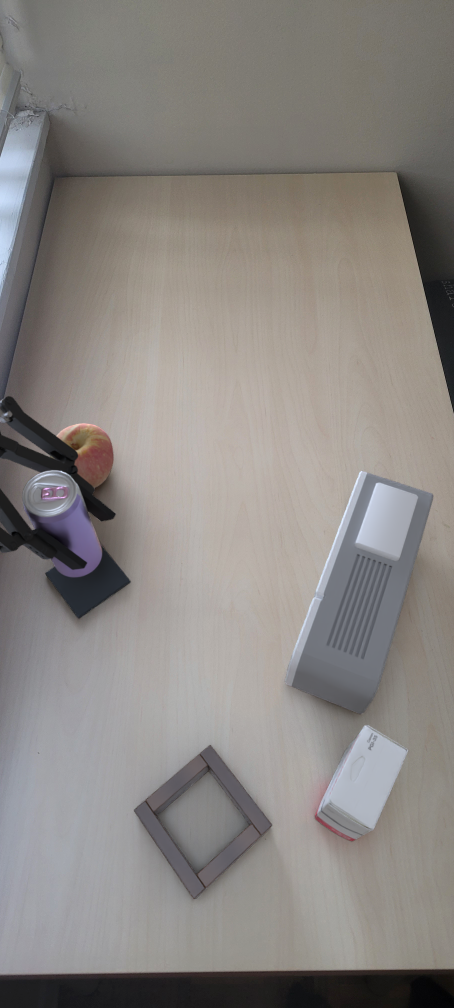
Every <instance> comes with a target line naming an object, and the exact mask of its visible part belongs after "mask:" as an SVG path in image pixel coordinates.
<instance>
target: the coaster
mask: <svg viewBox="0 0 454 1008" xmlns="http://www.w3.org/2000/svg"><path fill="white" fill-rule="evenodd" d="M100 545H101V548H102V557H101V561H100V563H99V564H98V566H97V567H96V568H95V569H94V570H93V571H92V572H90V573H89V574H87V575H85V576H81V577H68V576H65V575H63V574H61V573H60V572H59V571H58V570H57V569H56V568H55V566H53V567H52V568H50V569H48V570H47V571H46V572H44V574H45V575H46V577H47V578H48V580H49V581H50V582H51V584H52V585H53V586H54V588H55V589H56V590H57V592H58V594H60V596H61V597H62V599H63V600H64V601H65V603H66V604H67V605H68V607H69V608H70V609H71V611H72V613H74V615H75V617H77V619H78V620H80V619H81V618H83V617H84V616H85V615H86V614H89V613H90V612H91V611H92V610H94V609H95V608H97V607H98V606H100V605H101V604H102V603H104V602H105V601H106V600H108V599H110V598H111V597H112V596H113V595H115V594H116V593H118V592H119V591H121V590H122V589H123V588H125V587H126V586H128V585H129V584H130V583H131V580H130V578H129V577H128V576H127V575H126V573H125V572H124V571H123V570H122V568H121V567H120V566H119V565H118V564H117V562H116V561H115V560H114V559H113V557H112V556H111V555H110V554H109V553H108V551H107V550H106V549H105V547H104V546H103V545H102V544H101V543H100Z"/></svg>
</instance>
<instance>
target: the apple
mask: <svg viewBox="0 0 454 1008" xmlns="http://www.w3.org/2000/svg"><path fill="white" fill-rule="evenodd" d="M56 436H57V437H58V438H59V439H61V440H62V441H63V442H65V443H66V444H67V445H69V446H70V447H72V448H73V449H74V450H76V451H77V453H78V458H77V459H76V460H75V464H74V465H75V466H77V468H78V472H77V474H79V475H80V476H81V477H82V478H84V479H85V480H86V481H87V482H89V483H90V484H91V485H92V486H93V487H94V489H95V488H97V487H100V485H102V484H103V483H104V482H105V481H106V480H107V478H109V476H110V474H111V471H112V469H113V466H114V461H115V457H114V456H115V455H114V449H113V448H114V447H113V442H112V440H111V438H110V436H109V434H108V433H107V432H106V431H105V430H104V429H103V428H101V427H100V426H98V425H96V424H91V423H82V422H81V423H76V424H72V425H68V426H67V427H65V428H63V429H61V431H59V432H58V433H57V435H56ZM49 457H51V456H50V455H49ZM51 458H53V457H51ZM53 459H54V458H53Z"/></svg>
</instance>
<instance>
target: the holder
mask: <svg viewBox="0 0 454 1008" xmlns="http://www.w3.org/2000/svg"><path fill="white" fill-rule="evenodd" d="M208 772H210V774H211V776H213V778H214V779H215V781H216V782H217V783H218V784H219V785H220V787H221V789H223V791H224V792H225V793H226V795H227V796H228V798H229V799H230V800H231V802H232V803H233V804H234V806H235V807H236V809H237V810H238V811H239V812H240V814H241V815H242V816H243V818H244V819H245V820H246V822H247V823H248V824H249V825H248V826H247V827H246V828H244V830H243V831H241V833H239V834H238V835H237V836H236V837H235V838H234V839H233V840H232V841H231V842H229V844H227V845H226V846H225V847H224V848H223V849H222V850H221V851H219V853H218V854H217V855H216V856H215V857H213V858H212V859H211V860H210V861H209V862H208V863H207V864H205V866H204V867H203V868H202V869H201V870H199V872H198V873H197V872H196V870H195V869H194V868H193V866H192V864H191V863H190V861H189V860H188V859H187V858H186V856H185V854H184V853H183V852H182V850H181V849H180V847H179V845H178V844H177V843H176V841H175V840H174V839H173V837H172V835H171V834H170V833H169V831H168V829H166V827H165V826H164V824H163V822H162V821H161V820H160V818H159V817H158V816H159V814H161V813H162V812H163V811H164V810H165V809H166V808H168V807H169V806H170V805H171V804H172V803H173V802H174V801H176V800H177V799H178V798H179V797H180V796H181V795H183V794H184V793H185V792H186V791H187V790H188V789H189V788H191V787H192V786H193V785H194V784H195V783H196V782H198V781H199V780H200V779H201V778H202V777H203V776H205V774H207V773H208ZM133 812H134V814H135V815H136V816H137V818H138V819H139V821H140V823H141V825H143V827H144V828H145V830H146V831H147V832H148V834H149V836H150V837H151V838H152V840H153V841H154V843H155V844H156V846H157V847H158V849H159V850H160V852H161V854H162V855H163V856H164V858H165V860H166V861H167V862H168V864H169V865H170V867H171V868H172V869H173V871H174V873H175V875H176V876H177V878H178V879H179V880H180V882H181V883H182V884H183V886H184V888H185V889H186V891H187V892H188V893H189V895H190V896H191V898H192V899H193V900H197V899H198V897H200V896H201V895H202V894H203V893H204V892H205V891H206V890H207V889H208V888H209V887H210V886H212V884H214V883H215V882H216V881H217V880H218V879H219V878H220V877H221V876H223V874H225V872H226V871H227V870H229V869H230V867H232V866H233V865H234V864H235V863H236V862H237V861H238V860H239V859H240V858H241V857H242V856H243V855H244V854H245V853H247V851H248V850H250V849H251V848H252V847H253V846H254V845H255V844H256V843H257V842H258V841H259V840H260V839H261V838H262V837H263V836H264V835H266V833H268V832H269V831H270V830H271V828H272V827H273V824H272V823H271V821H270V820H269V819H268V818H267V816H266V815H265V813H264V812H263V811H262V809H261V808H260V807H259V806H258V804H257V802H255V800H254V799H253V797H251V795H250V794H249V793H248V791H247V790H246V789H245V787H244V786H243V784H242V783H241V782H240V781H239V780H238V779H237V777H236V775H235V774H234V773H233V772H232V771H231V769H230V768H229V767H228V765H227V764H226V763H225V762H224V760H223V759H222V758H221V756H220V755H219V754H218V752H217V751H216V750H215V748H214V747H213V746H212V745H211V744H209V745H208V746H207V747H205V748H204V749H203V750H202V751H201V752H200V753H198V754H197V755H196V756H195V757H194V758H193V759H191V760H190V761H189V762H187V764H185V765H184V766H183V767H182V768H181V769H180V770H179V771H177V772H176V773H175V774H174V775H172V776H171V777H170V778H169V779H168V780H167V781H165V782H164V783H163V784H162V785H161V786H159V788H158V789H156V790H155V791H154V792H153V793H152V794H151V795H150V796H148V797H147V798H145V800H143V801H142V802H141V803H140V804H139V805H137V806H136V807H135V808H134V809H133Z"/></svg>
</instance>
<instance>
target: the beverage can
mask: <svg viewBox="0 0 454 1008" xmlns="http://www.w3.org/2000/svg"><path fill="white" fill-rule="evenodd" d="M21 493H22V494H21V499H22V506H23V510H24V512H25V514H26V515H27V517H28V520H29V521H30V523H31V525H32V527H33V530H34V529H38V528H41V529H42V530H44V531H45V532H47V533H48V534H49V535H51V536H52V537H53V538H55V539H56V540H58V541H59V542H60V543H62V544H63V545H64V546H66V547H67V548H68V549H70V550H71V551H72V552H74V553H75V554H76V555H78V556H79V557H81V558H82V559H83V560H85V561H86V562H87V565H86V566H85V568H84V569H76V570H72V569H70V568H69V567H68V566H66V565H65V564H64V563H62V562H61V561H59V560H58V559H57V558H55V557H53V559H50V560H51V562H52V564H53V567H55V568H56V569H57V570H58V571H59V572H60V573H61V574H63V575H65V576H68V577H81V576H85V575H87V574H89V573H90V572H92V571H93V570H94V569H95V568H96V567H97V566H98V564H99V563H100V561H101V557H102V548H101V545H102V544H101V542H100V540H99V536H98V534H97V532H96V529H95V526H94V523H93V521H92V519H91V516H90V513H89V512H88V510H87V507H86V505H85V502H84V499H83V497H82V494H81V491H80V489H79V486H78V485H77V483H76V482H75V481H74V480H73V478H72V477H71V476H69V475H68V474H66V473H64V472H62V471H57V470H50V471H44V472H41V473H40V472H38V474H35V475H33V476H32V477H31V478H30V479H29V480H28V481H27V482H26V484H25V485H24V487H23V489H22V492H21ZM100 544H101V545H100Z"/></svg>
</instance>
